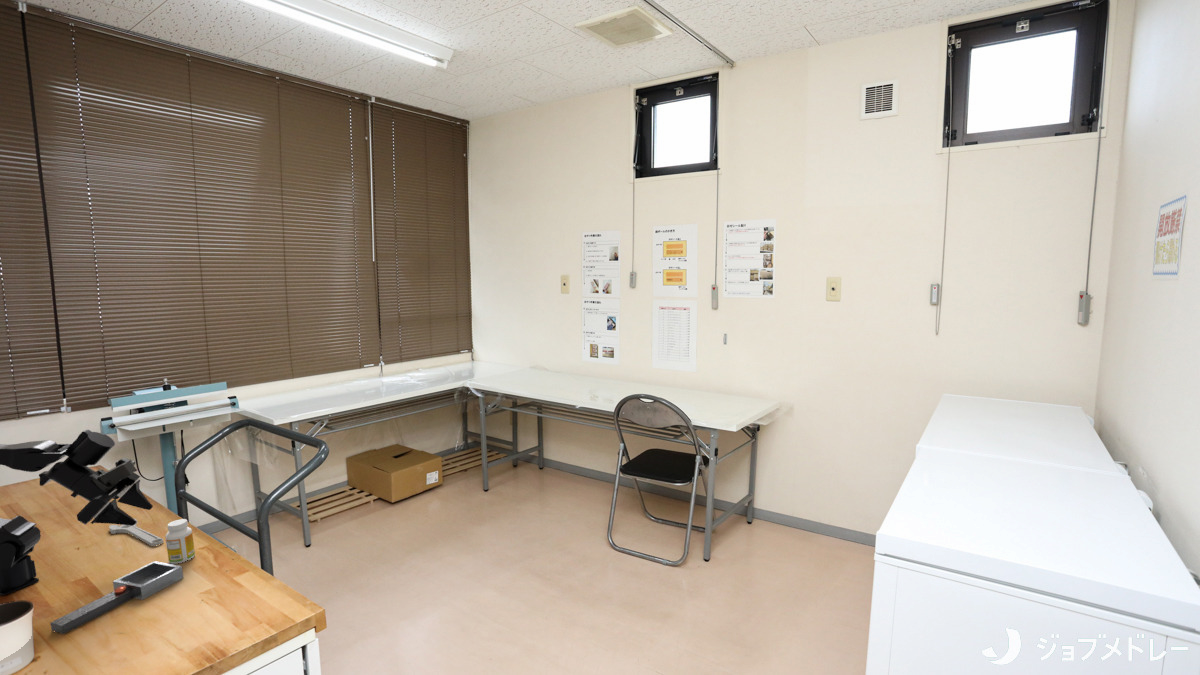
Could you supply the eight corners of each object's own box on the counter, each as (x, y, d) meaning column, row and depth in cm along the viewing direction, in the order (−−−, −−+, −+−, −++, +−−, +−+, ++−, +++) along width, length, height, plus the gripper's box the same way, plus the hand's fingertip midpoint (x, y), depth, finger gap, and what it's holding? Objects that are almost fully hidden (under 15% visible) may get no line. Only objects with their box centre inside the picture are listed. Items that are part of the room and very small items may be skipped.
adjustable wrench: (166, 545, 151) (165, 538, 150) (136, 555, 146) (135, 549, 145) (133, 522, 165) (133, 516, 165) (105, 530, 160) (104, 524, 160)
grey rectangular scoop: (72, 637, 112) (70, 623, 112) (43, 629, 115) (40, 615, 115) (183, 578, 133) (181, 566, 133) (156, 572, 136) (154, 561, 135)
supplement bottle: (191, 551, 146) (186, 515, 145) (198, 557, 142) (193, 521, 141) (166, 560, 142) (161, 523, 140) (172, 566, 138) (167, 529, 137)
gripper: (86, 465, 126) (152, 504, 131) (125, 441, 143) (182, 476, 148) (47, 505, 124) (115, 543, 129) (91, 476, 142) (150, 510, 147)
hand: (143, 515), depth 138 cm, fingers open, 9 cm apart
